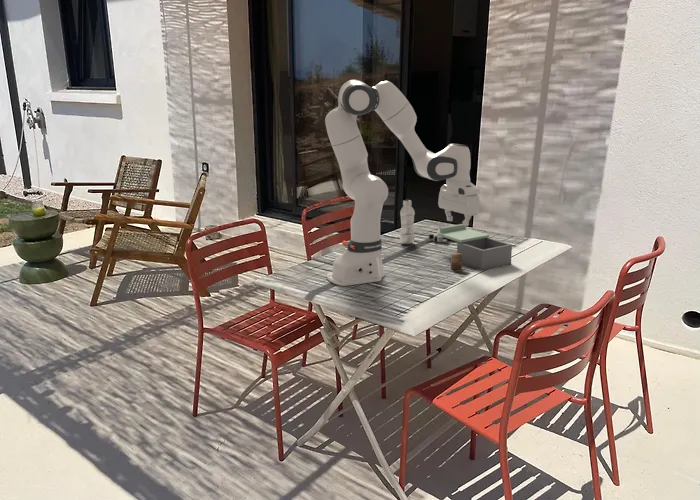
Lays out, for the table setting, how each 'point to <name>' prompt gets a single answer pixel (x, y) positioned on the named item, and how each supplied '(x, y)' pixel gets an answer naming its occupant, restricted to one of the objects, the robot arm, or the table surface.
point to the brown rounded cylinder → (456, 261)
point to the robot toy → (437, 237)
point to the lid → (461, 233)
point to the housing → (485, 253)
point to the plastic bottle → (407, 223)
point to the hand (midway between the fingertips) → (457, 223)
